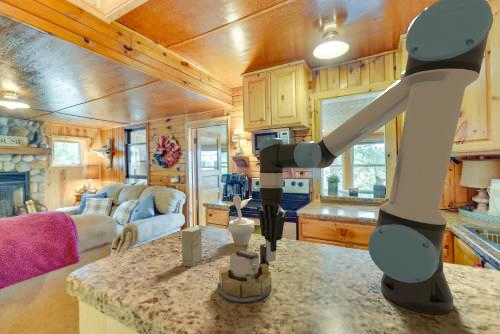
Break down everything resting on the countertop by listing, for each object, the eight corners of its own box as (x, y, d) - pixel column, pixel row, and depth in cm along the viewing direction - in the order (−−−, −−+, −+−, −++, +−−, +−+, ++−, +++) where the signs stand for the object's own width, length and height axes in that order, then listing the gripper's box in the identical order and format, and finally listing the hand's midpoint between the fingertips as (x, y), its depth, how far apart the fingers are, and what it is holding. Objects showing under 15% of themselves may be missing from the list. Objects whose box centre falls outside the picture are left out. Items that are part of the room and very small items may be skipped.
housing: (282, 286, 65) (281, 252, 65) (245, 311, 53) (245, 270, 54) (244, 271, 75) (243, 241, 75) (206, 289, 64) (206, 255, 64)
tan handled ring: (254, 302, 55) (254, 274, 55) (210, 288, 61) (210, 263, 61) (285, 268, 73) (285, 247, 73) (248, 260, 80) (248, 241, 80)
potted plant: (240, 250, 94) (239, 189, 94) (223, 243, 102) (223, 187, 102) (261, 243, 102) (261, 187, 102) (244, 237, 111) (244, 186, 111)
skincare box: (192, 267, 78) (192, 231, 78) (181, 265, 79) (181, 230, 79) (202, 260, 84) (202, 227, 84) (191, 258, 85) (191, 226, 85)
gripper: (293, 187, 70) (293, 264, 70) (268, 185, 81) (268, 252, 80) (274, 188, 66) (274, 270, 65) (250, 186, 77) (250, 256, 76)
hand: (271, 260), depth 73 cm, fingers closed
